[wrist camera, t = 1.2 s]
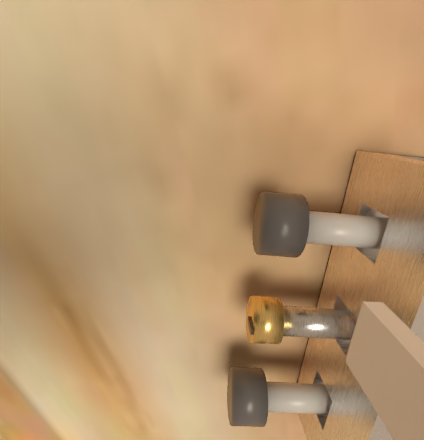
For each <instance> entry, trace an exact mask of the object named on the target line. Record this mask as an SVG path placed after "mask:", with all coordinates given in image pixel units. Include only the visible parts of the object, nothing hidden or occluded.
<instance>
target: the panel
mask: <svg viewBox="0 0 424 440" xmlns="http://www.w3.org/2000/svg"><path fill="white" fill-rule="evenodd" d="M341 214H351V215H362V216H373V217H384V218H389V220H388V223H387V226H386V230H385V233H384V236H383V239H382V242H381V246H380V249H372V248H360V247H348V246H335V245H333V246H332V250H331V254H330V258H329V262H328V265H327V269H326V273H325V277H324V281H323V285H322V289H321V293H320V297H319V301H318V305H317V308H329V309H345V310H350V311H351V312H352V314H353V315H354V316H355V317H356V319H358V316H359V312H360V309H361V305H362V302H363V301H366V302H383V303H384V304H385V305H386V306H387V307H388V308H389V309H390V310H391V311H392V312H393V313H394V314H395V315H396V316H397V317H398V318H399V319H400V320H401V321H402V322H403V323H404V324H406V325H407V326H408V327H409V328H410V329H411V330H412V331H413V332H414V333H415V334H416V335H417V336H418V337H419V338H420V339H421V340H422V341H423V342H424V158H421V157H412V156H402V155H393V154H384V153H374V152H365V151H357V152H356V156H355V159H354V163H353V167H352V171H351V175H350V179H349V183H348V187H347V191H346V195H345V199H344V203H343V207H342V211H341ZM354 330H355V329H354ZM352 337H353V336H352ZM351 340H352V339H351ZM351 340H344V339H326V338H309V340H308V344H307V348H306V352H305V356H304V360H303V364H302V368H301V371H300V375H299V379H298V383H310V384H324V385H325V387H326V389H327V391H328V393H329V396H330V398H331V400H332V404H331V407H330V410H329V413H328V414H309V413H298V414H299V417H300V420H301V423H302V426H303V429H304V432H305V435H306V438H307V440H394V439H393V438H392V436H391V434H390V433H389V431H388V430H387V428H386V426H385V425H384V423H383V422H382V420H381V418H380V417H379V415H378V413H377V412H376V410H375V409H374V407H373V405H372V404H371V402H370V401H369V399H368V397H367V396H366V394H365V393H364V391H363V389H362V388H361V386H360V384H359V383H358V381H357V380H356V378H355V376H354V375H353V373H352V372H351V370H350V368H349V367H348V365H347V364H346V362H345V361H346V358H347V354H348V351H349V347H350V344H351Z"/></svg>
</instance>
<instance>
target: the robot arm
mask: <svg viewBox="0 0 424 440" xmlns="http://www.w3.org/2000/svg"><path fill="white" fill-rule="evenodd" d="M345 362H346V364H347V365H348V367H349V368H350V370H351V372H352V373H353V375H354V376H355V378H356V380H357V381H358V383H359V384H360V386H361V388H362V389H363V391H364V393H365V394H366V396H367V397H368V399H369V401H370V402H371V404H372V405H373V407H374V409H375V410H376V412H377V413H378V415H379V417H380V418H381V420H382V422H383V423H384V425H385V426H386V428H387V430H388V431H389V433H390V434H391V436H392V438H393V439H394V440H424V342H423V341H422V340H421V339H420V338H419V337H418V336H417V335H416V334H415V333H414V332H413V331H412V330H411V329H410V328H409V327H408V326H407V325H406V324H404V323H403V322H402V321H401V320H400V319H399V318H398V317H397V316H396V315H395V314H394V313H393V312H392V311H391V310H390V309H389V308H388V307H387V306H386V305H385V304H384V303H383V302H366V301H363V302H362V305H361V309H360V312H359V316H358V319H357V323H356V326H355V330H354V333H353V337H352V340H351V344H350V347H349V351H348V354H347V358H346V361H345Z"/></svg>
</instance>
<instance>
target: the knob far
mask: <svg viewBox="0 0 424 440" xmlns="http://www.w3.org/2000/svg"><path fill="white" fill-rule="evenodd" d="M227 404H228V417H229V422H230V425H231V426H251V427H264V426H265V424H266V421H267V416H268V412H281V413H309V414H328V413H329V410H330V407H331V404H332V400H331V398H330V396H329V393H328V391H327V389H326V387H325V385H324V384H310V383H287V382H266V377H265V374H264V371H263V370H262V369H261V368H248V367H231V368H230V371H229V376H228V389H227Z"/></svg>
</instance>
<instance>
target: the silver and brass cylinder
mask: <svg viewBox="0 0 424 440" xmlns="http://www.w3.org/2000/svg"><path fill="white" fill-rule="evenodd" d="M356 323H357V319H356V317H355V316H354V315H353V314H352V312H351V311H350V310H345V309H329V308H314V307H298V306H283V305H282V302H281V300H280V298H278V297H267V296H252V295H251V296H250V297H249V300H248V303H247V310H246V331H247V337H248V340H249V342H250V343H262V344H280V343H281V341H282V338H283V336H291V337H308V338H326V339H344V340H351V339H352V336H353V333H354V329H355V326H356Z"/></svg>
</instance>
